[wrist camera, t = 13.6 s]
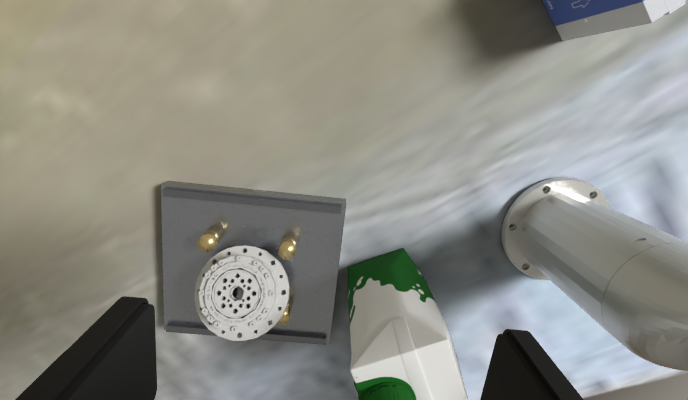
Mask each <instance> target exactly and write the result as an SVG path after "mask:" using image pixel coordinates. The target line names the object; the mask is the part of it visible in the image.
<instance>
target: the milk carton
mask: <svg viewBox="0 0 688 400" xmlns="http://www.w3.org/2000/svg"><path fill="white" fill-rule="evenodd" d="M348 304H349V321H350V337H351V356H352V357H351V364H350V372H351V375H352V377H353V379H354V385H355V387H356V390H357V392H358V398H359V400H468V398H467V394H466V390H465V386H464V382H463V378H462V374H461V370H460V367H459V363H458V359H457V355H456V352H455V349H454V346H453V343H452V340H451V337H450V333H449V330H448V328H447V326H446V323H445V321H444V319H443V317H442V315H441V313H440V310H439V308H438V306H437V304H436V302H435V300H434V298H433V296H432V293H431V291H430V289H429V287H428V285H427V283H426V281H425V279H424V277H423V276H422V274H421V273H420V271H419V270H418V269H417V267H416V266H415V264H414V263H413V261H412V260H411V259H410V257H409V256H408V254H407V253H406V251H405V250H404V248H402V249H399V250H396V251H393V252H391V253H388V254H385V255H382V256H379V257H376V258H373V259H370V260H367V261H364V262H361V263H358V264H355V265H352V266H349V267H348Z"/></svg>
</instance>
